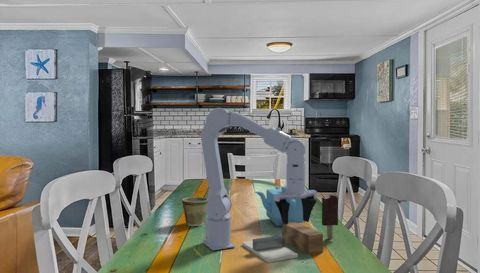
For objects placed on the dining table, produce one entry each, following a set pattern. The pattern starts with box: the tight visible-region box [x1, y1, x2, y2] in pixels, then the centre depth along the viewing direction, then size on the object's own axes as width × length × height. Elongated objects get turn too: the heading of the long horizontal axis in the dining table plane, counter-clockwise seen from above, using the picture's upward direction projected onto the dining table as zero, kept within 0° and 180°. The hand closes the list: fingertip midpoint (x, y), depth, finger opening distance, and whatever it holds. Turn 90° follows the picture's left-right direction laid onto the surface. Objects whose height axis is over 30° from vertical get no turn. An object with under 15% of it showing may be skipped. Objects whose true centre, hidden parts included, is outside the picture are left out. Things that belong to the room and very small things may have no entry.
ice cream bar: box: [321, 194, 339, 240], centre depth 127 cm, size 5×2×15 cm, turn 95°
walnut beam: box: [281, 222, 324, 256], centre depth 120 cm, size 16×5×6 cm, turn 24°
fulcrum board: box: [241, 234, 299, 263], centre depth 115 cm, size 17×10×4 cm, turn 25°
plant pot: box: [181, 196, 208, 227], centre depth 147 cm, size 13×10×10 cm
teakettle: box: [254, 185, 316, 227], centre depth 148 cm, size 19×19×15 cm
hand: (295, 222), depth 115 cm, fingers open, 7 cm apart
